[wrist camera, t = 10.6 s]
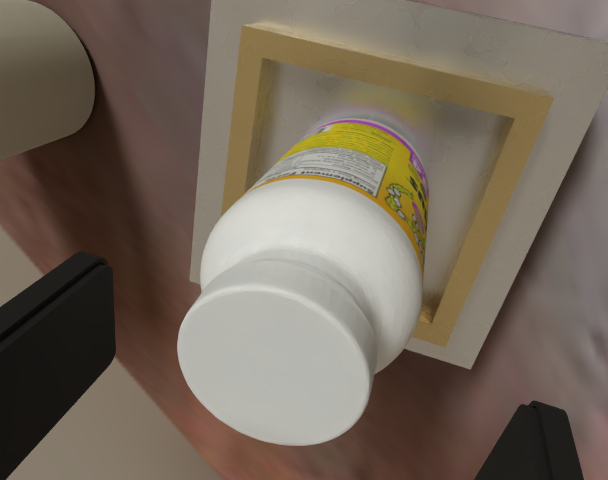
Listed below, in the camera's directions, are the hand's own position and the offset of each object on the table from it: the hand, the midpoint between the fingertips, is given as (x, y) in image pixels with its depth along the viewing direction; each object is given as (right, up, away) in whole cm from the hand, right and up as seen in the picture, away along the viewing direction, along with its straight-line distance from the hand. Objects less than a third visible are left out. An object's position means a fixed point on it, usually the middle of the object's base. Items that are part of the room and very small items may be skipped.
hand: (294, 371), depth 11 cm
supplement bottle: (+3, +6, +12) cm, 13 cm away
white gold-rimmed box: (+4, +7, +16) cm, 18 cm away
